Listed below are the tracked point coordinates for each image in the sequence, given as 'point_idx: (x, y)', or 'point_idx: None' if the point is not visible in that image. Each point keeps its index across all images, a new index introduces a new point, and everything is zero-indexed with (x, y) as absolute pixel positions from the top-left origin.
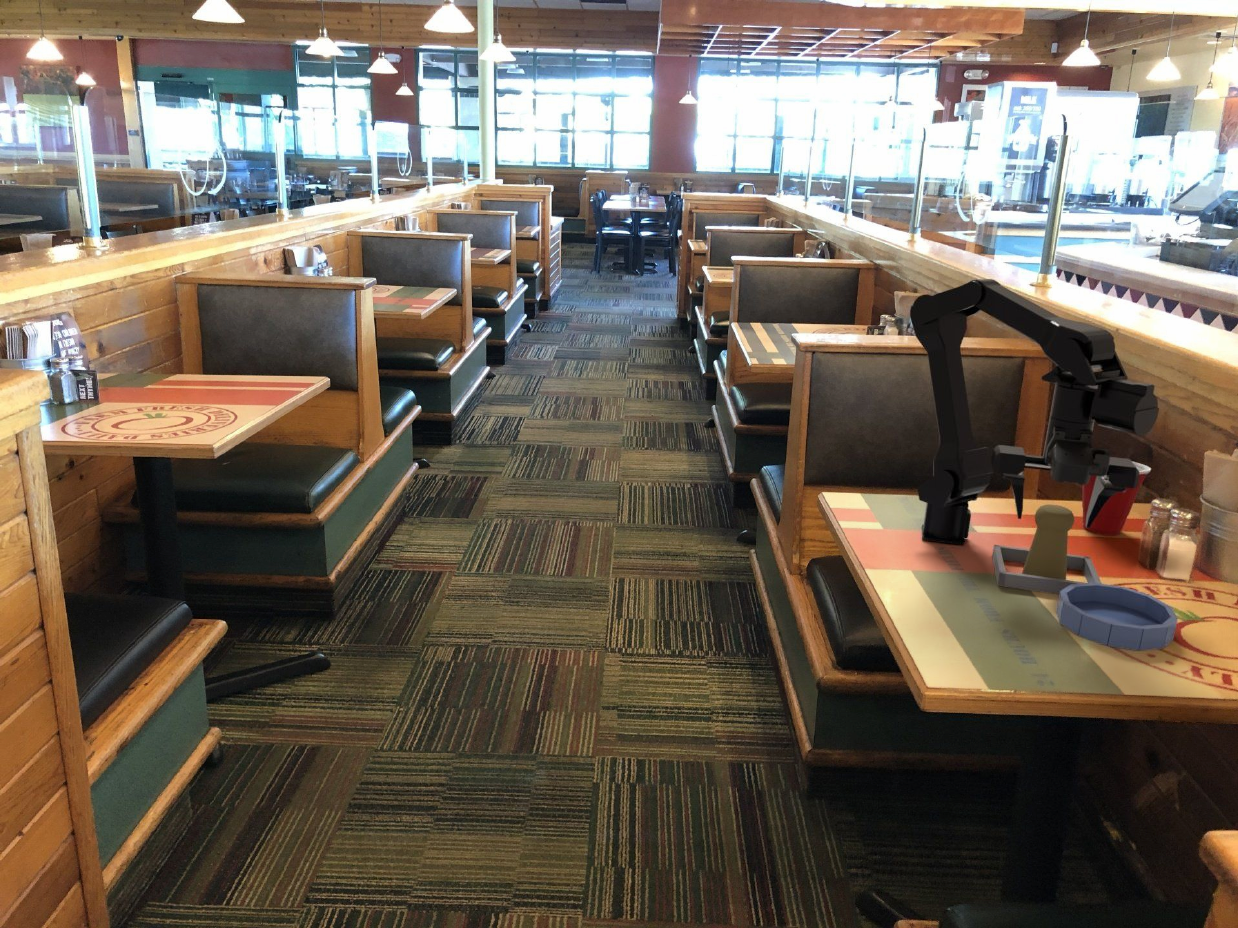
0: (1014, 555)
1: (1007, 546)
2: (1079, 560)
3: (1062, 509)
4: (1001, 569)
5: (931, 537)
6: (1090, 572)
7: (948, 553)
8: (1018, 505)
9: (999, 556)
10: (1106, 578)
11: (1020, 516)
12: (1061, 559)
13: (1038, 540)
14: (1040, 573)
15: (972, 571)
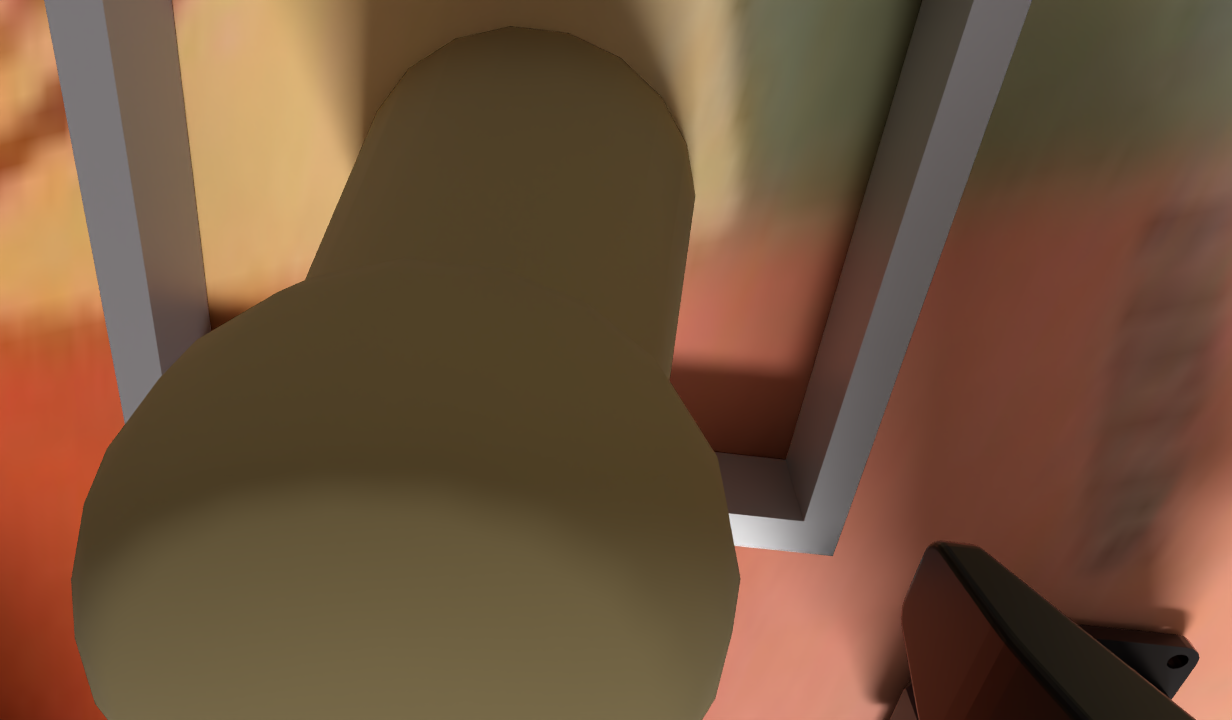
0: None
1: (739, 542)
2: None
3: (261, 668)
4: (1005, 12)
5: (1144, 655)
6: (135, 173)
7: (1109, 484)
8: (1160, 715)
9: (886, 338)
10: (51, 294)
11: (966, 563)
12: (392, 146)
13: (647, 297)
14: (598, 82)
15: (1087, 197)
